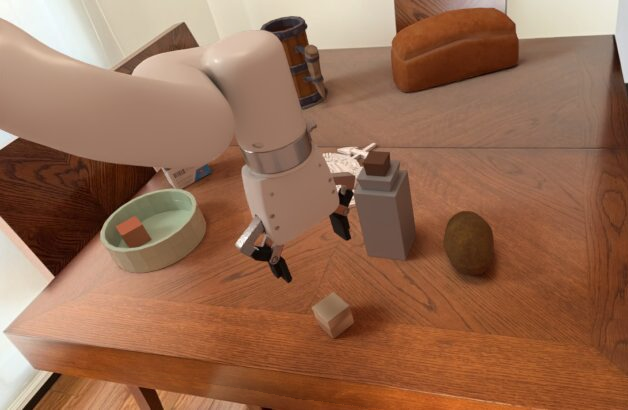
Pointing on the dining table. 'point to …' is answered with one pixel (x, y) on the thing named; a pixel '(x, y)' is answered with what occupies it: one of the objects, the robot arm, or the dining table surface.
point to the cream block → (333, 315)
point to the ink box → (185, 175)
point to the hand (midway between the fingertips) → (314, 255)
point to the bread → (453, 48)
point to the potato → (469, 243)
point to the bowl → (156, 230)
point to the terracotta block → (133, 232)
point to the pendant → (347, 163)
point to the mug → (300, 59)
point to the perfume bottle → (385, 207)
